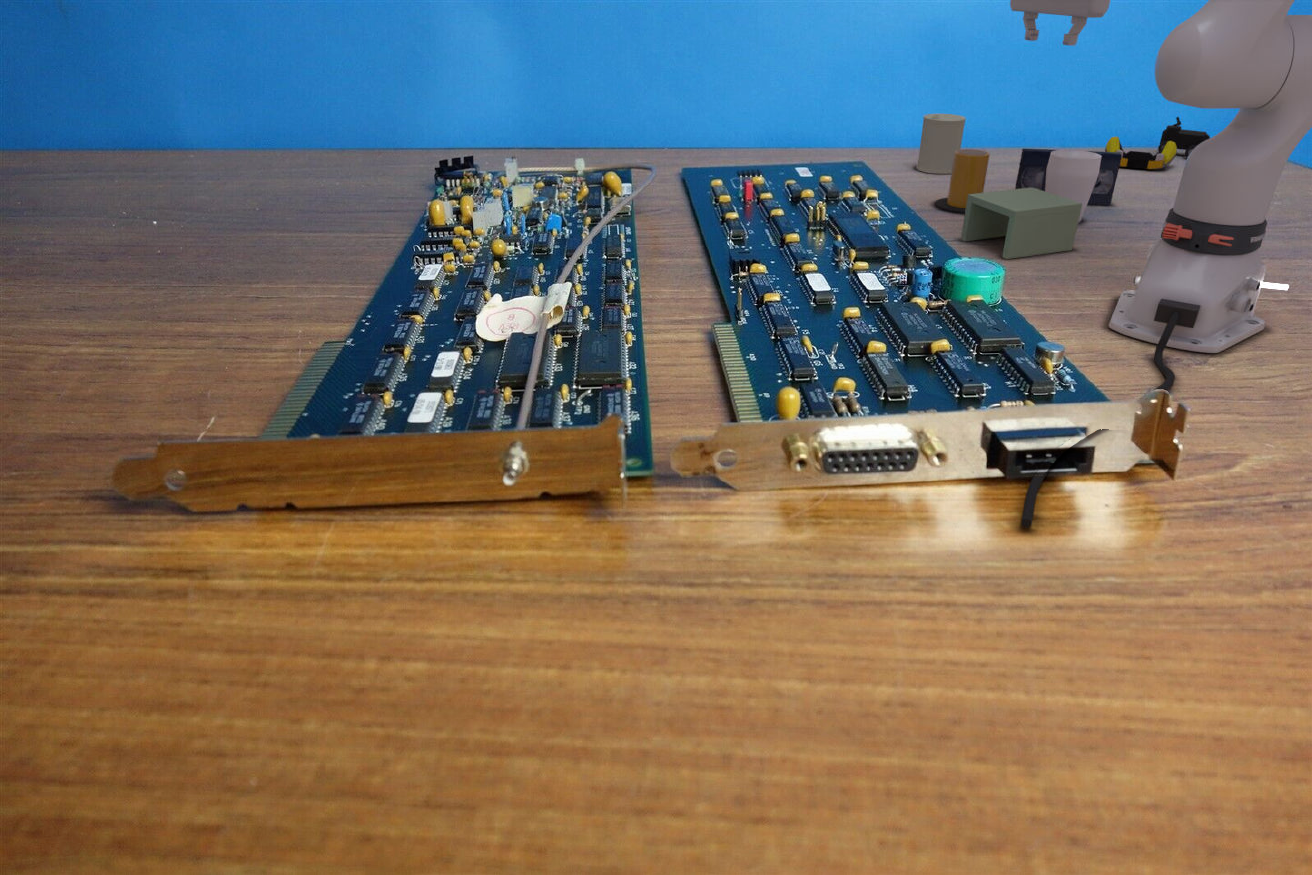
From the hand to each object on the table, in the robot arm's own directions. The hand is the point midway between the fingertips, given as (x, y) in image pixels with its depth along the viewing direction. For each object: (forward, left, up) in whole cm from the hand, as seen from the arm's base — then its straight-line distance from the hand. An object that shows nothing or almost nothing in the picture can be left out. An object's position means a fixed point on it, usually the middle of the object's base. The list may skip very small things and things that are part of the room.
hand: (1049, 42), depth 166 cm
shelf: (-20, -8, -31) cm, 37 cm away
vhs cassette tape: (+15, -3, -31) cm, 34 cm away
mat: (-2, +10, -31) cm, 32 cm away
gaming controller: (+60, -4, -31) cm, 67 cm away
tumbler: (-2, +10, -30) cm, 32 cm away
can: (+25, +29, -31) cm, 49 cm away
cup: (+2, -8, -31) cm, 32 cm away
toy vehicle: (+80, -11, -31) cm, 86 cm away
